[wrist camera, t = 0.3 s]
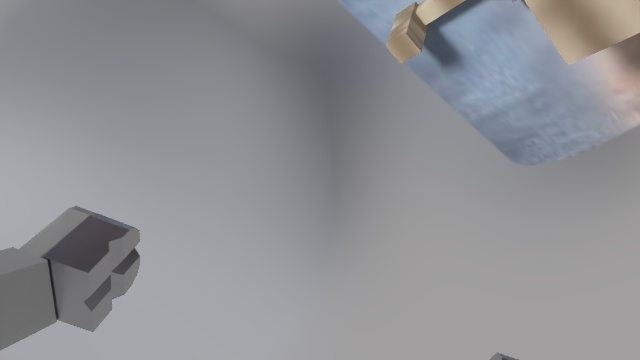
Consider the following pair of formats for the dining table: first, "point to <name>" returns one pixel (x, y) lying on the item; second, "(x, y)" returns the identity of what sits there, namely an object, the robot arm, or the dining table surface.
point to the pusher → (415, 27)
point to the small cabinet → (586, 24)
